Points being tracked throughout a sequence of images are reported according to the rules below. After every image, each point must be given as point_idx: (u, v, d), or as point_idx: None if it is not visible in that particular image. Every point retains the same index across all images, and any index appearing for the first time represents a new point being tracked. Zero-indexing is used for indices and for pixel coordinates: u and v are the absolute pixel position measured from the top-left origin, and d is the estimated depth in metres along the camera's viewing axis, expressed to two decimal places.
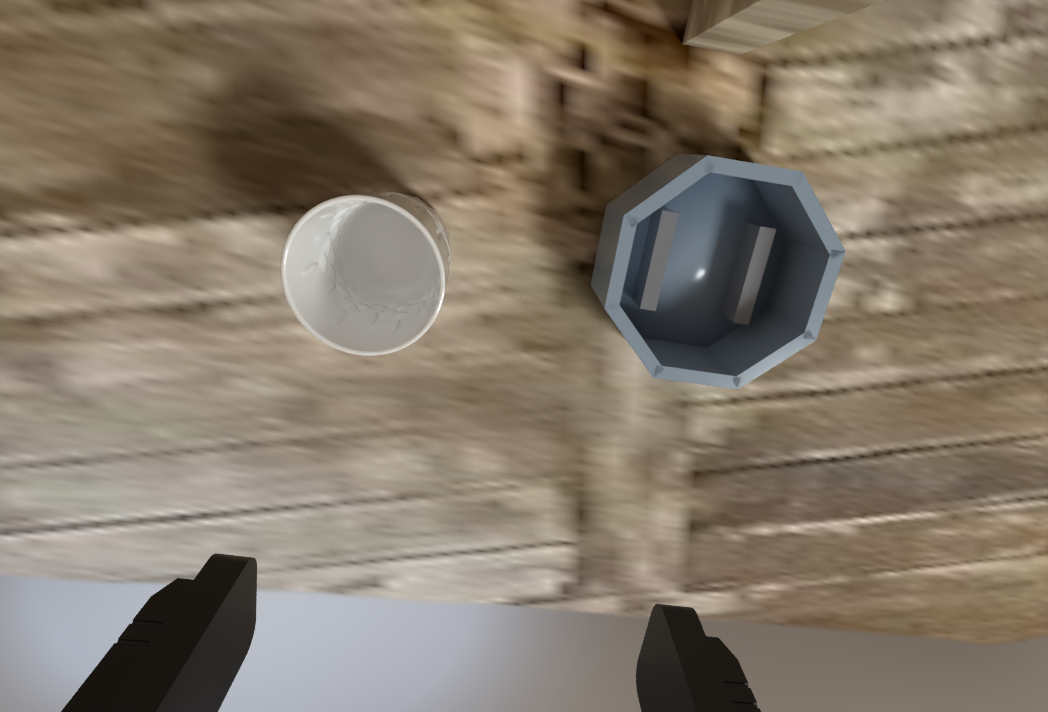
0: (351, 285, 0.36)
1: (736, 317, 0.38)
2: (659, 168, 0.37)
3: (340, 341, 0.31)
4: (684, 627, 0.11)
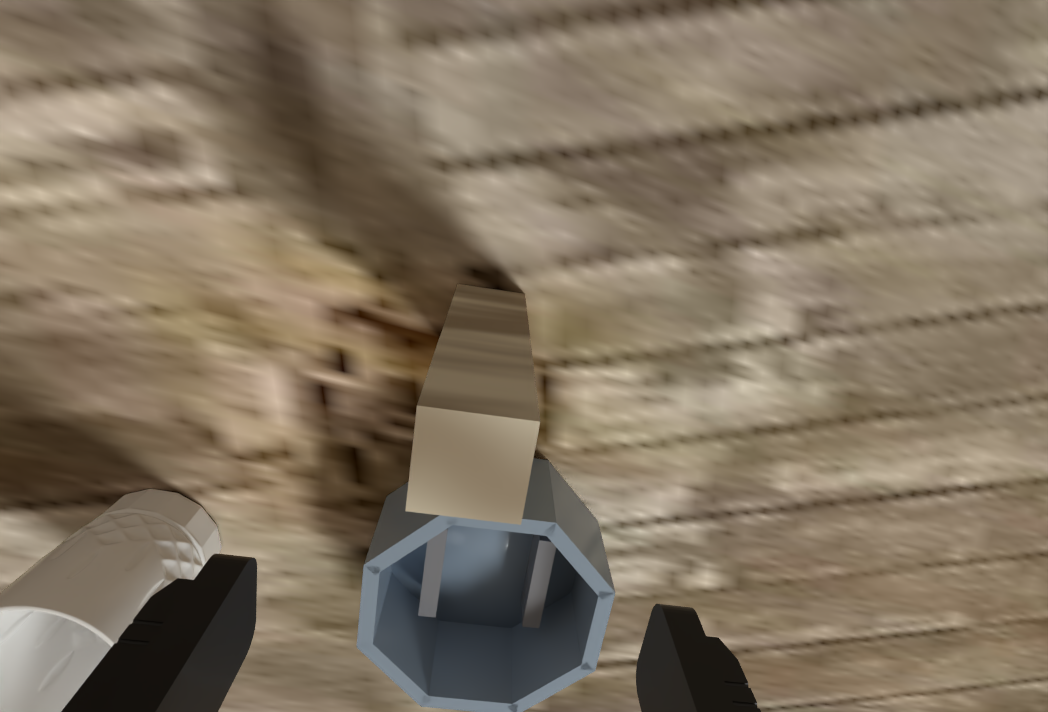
0: None
1: (525, 621, 0.35)
2: None
3: None
4: (684, 627, 0.11)
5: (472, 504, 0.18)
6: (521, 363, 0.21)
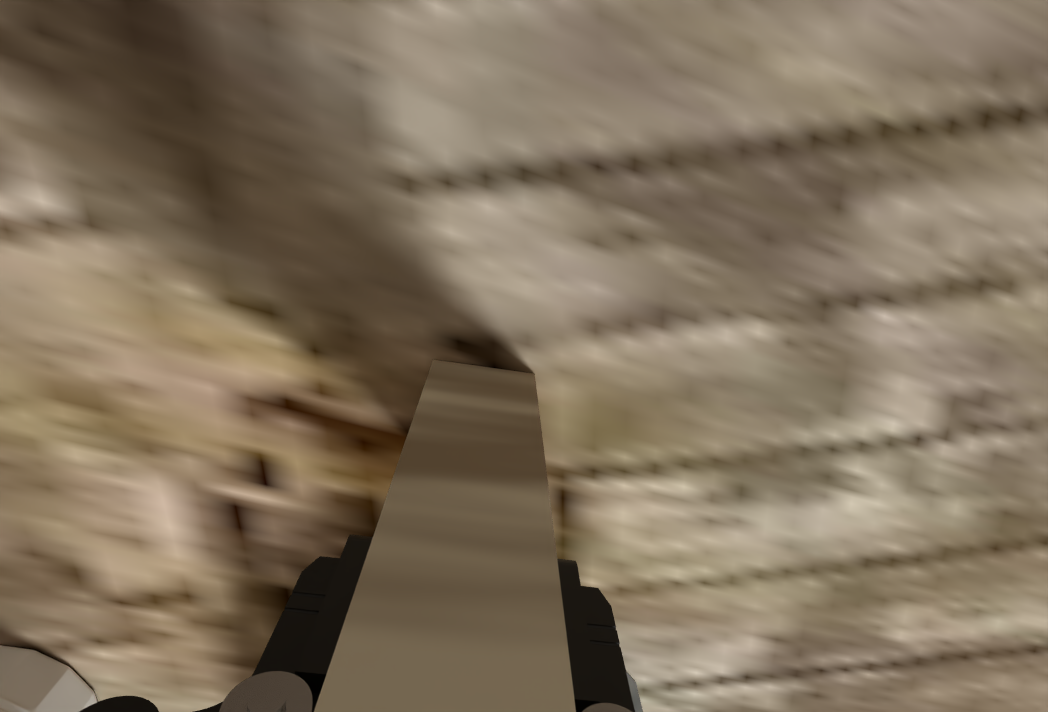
0: None
1: None
2: None
3: None
4: (561, 576, 0.12)
5: None
6: (536, 579, 0.11)
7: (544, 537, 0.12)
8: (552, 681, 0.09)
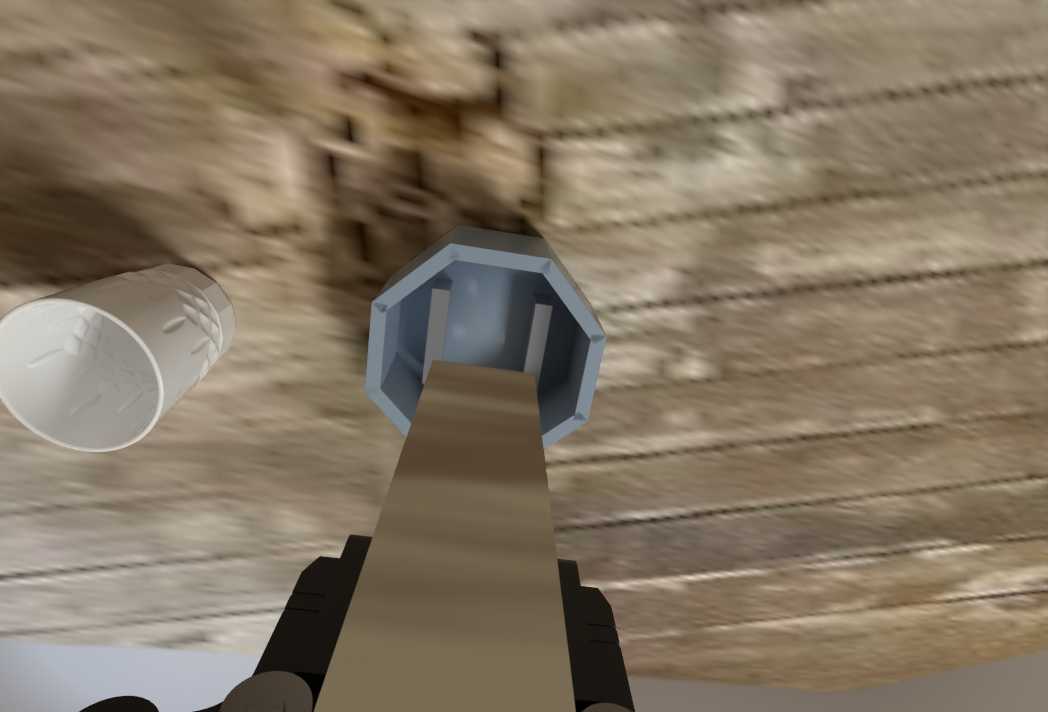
0: (121, 361, 0.36)
1: None
2: (438, 241, 0.36)
3: (68, 437, 0.30)
4: (561, 576, 0.12)
5: None
6: (537, 579, 0.11)
7: (544, 537, 0.12)
8: (552, 681, 0.09)
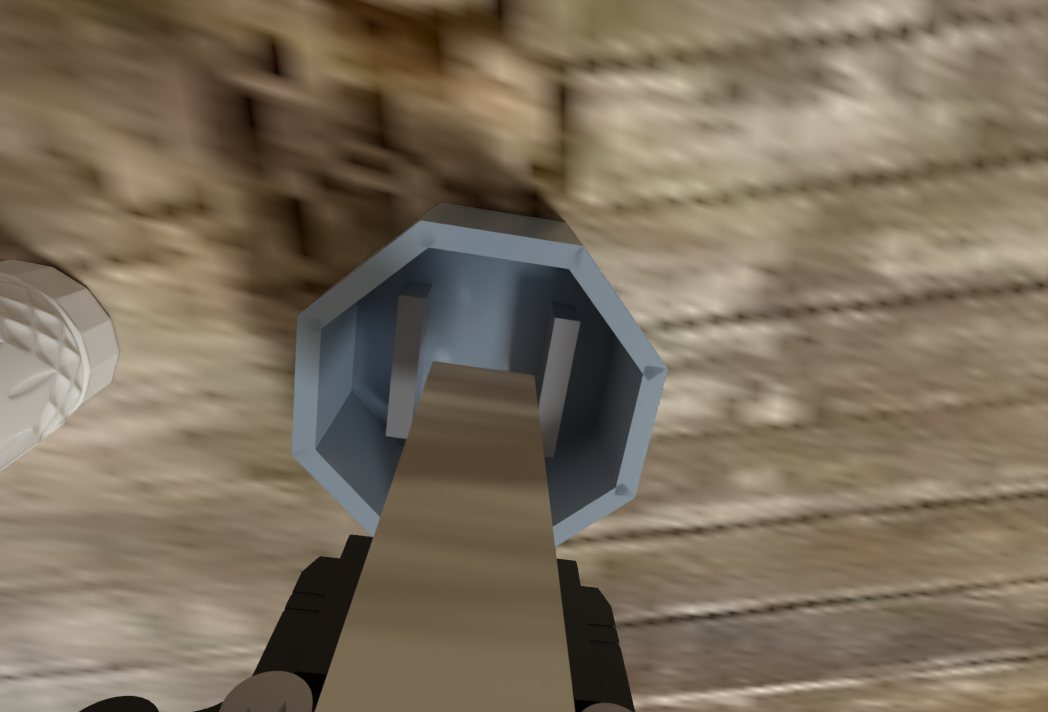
0: None
1: None
2: (410, 225, 0.24)
3: None
4: (561, 576, 0.12)
5: None
6: (536, 581, 0.11)
7: (544, 539, 0.12)
8: (552, 684, 0.09)
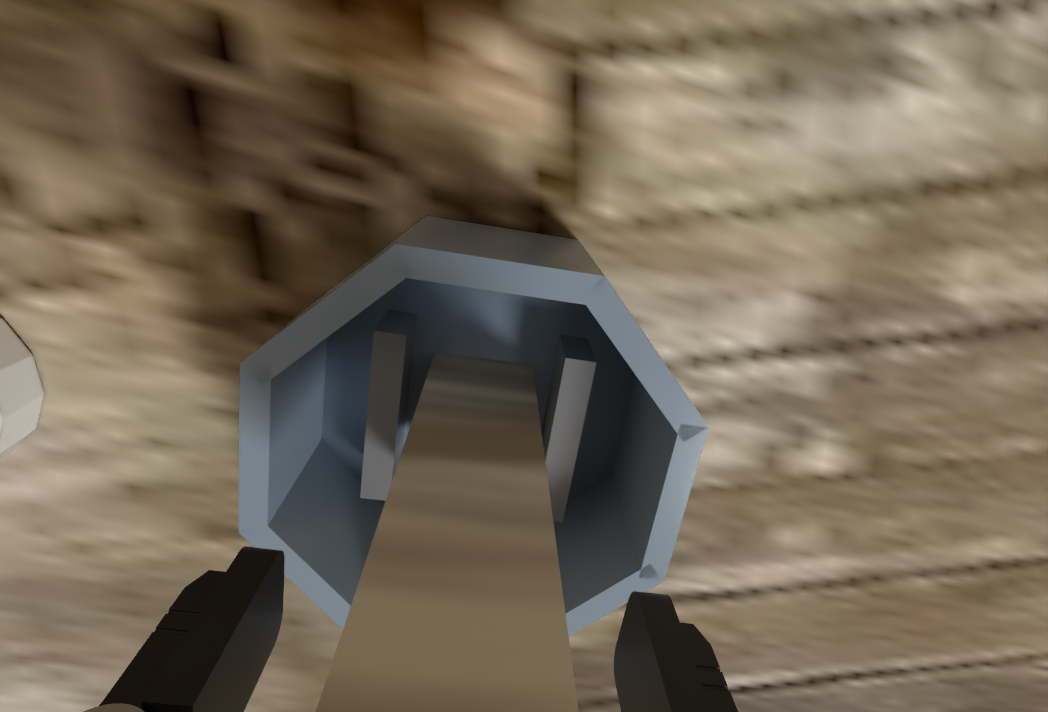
0: None
1: None
2: (389, 244, 0.20)
3: None
4: (658, 613, 0.12)
5: None
6: (535, 547, 0.12)
7: (542, 511, 0.13)
8: (550, 633, 0.10)
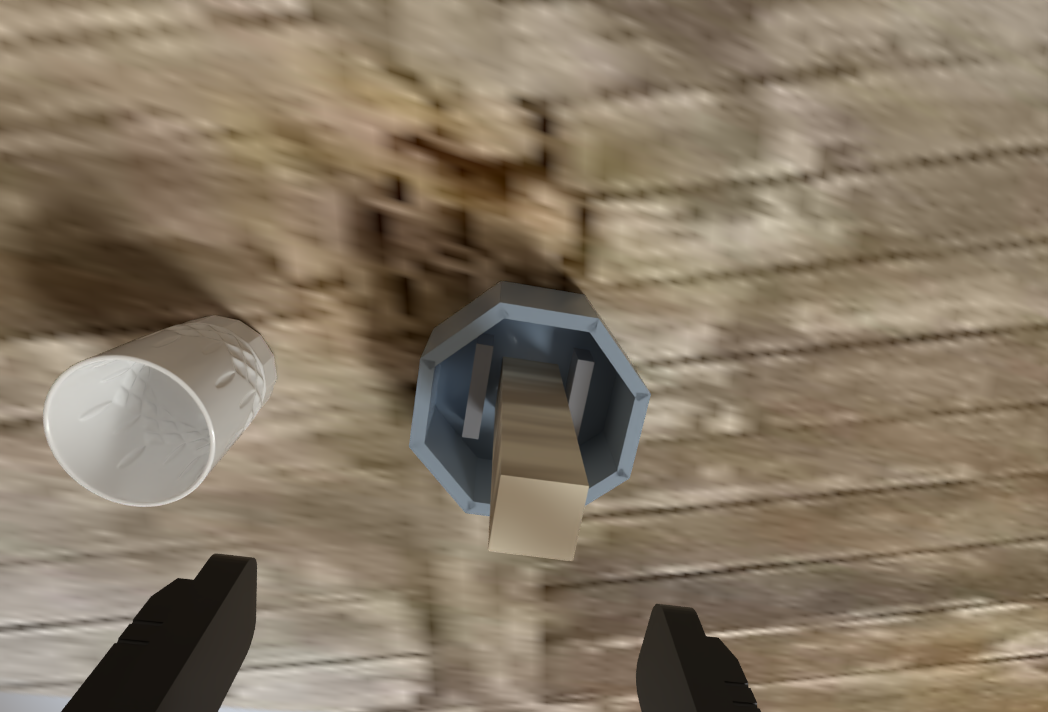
0: (164, 412, 0.36)
1: None
2: (481, 296, 0.36)
3: (115, 491, 0.30)
4: (684, 627, 0.11)
5: (537, 545, 0.24)
6: (567, 434, 0.28)
7: (569, 424, 0.29)
8: (575, 457, 0.26)
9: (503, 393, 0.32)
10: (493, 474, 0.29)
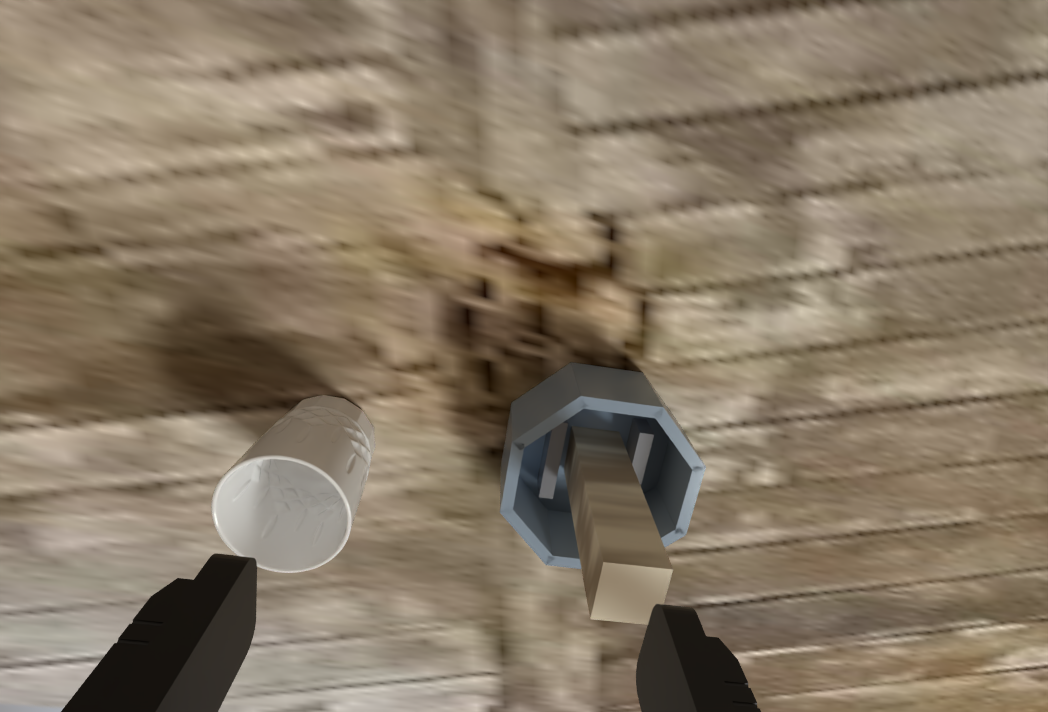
0: (285, 481, 0.42)
1: None
2: (554, 377, 0.42)
3: (265, 559, 0.36)
4: (684, 627, 0.11)
5: (630, 614, 0.31)
6: (644, 514, 0.34)
7: (643, 502, 0.35)
8: (656, 539, 0.32)
9: (583, 470, 0.38)
10: (582, 545, 0.35)
